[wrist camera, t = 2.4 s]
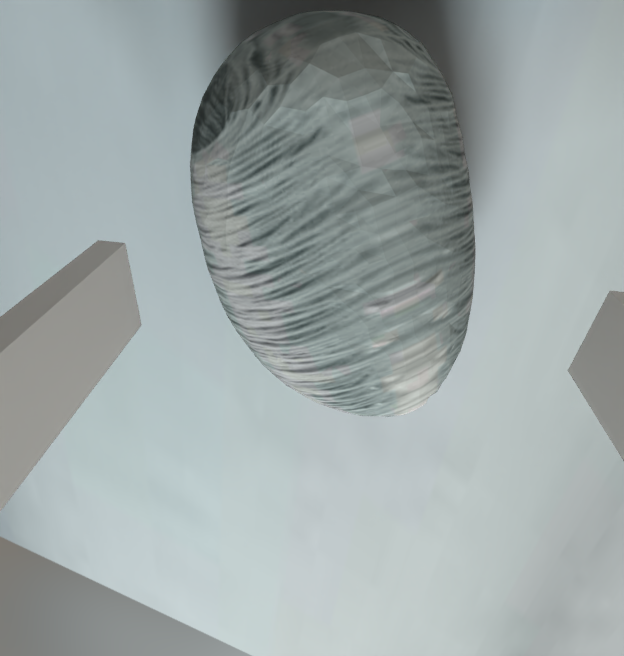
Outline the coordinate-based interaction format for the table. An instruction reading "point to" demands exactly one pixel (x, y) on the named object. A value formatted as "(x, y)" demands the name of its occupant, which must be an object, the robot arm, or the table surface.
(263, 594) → the table surface
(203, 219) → the streaked grey egg
